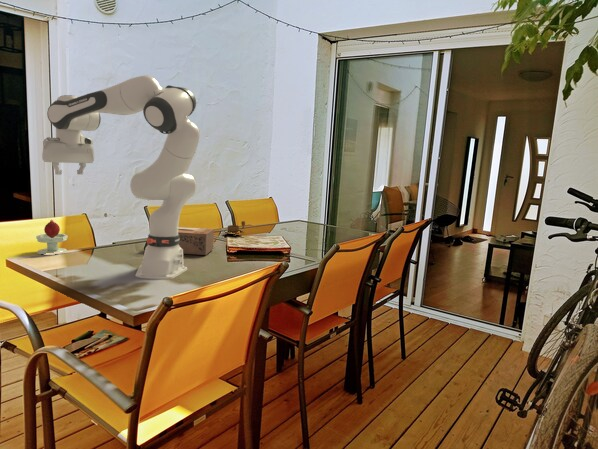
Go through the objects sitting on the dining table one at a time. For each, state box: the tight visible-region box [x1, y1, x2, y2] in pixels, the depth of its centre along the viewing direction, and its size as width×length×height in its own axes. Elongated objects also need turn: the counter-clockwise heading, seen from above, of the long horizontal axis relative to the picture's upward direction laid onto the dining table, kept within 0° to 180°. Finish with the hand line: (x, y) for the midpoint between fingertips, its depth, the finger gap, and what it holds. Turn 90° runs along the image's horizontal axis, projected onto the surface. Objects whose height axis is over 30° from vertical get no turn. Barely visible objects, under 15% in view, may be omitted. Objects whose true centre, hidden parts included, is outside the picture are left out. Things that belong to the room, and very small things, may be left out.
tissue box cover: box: [178, 226, 215, 256], centre depth 208 cm, size 26×14×10 cm, turn 88°
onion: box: [43, 219, 61, 238], centre depth 186 cm, size 6×6×8 cm
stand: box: [35, 233, 69, 255], centre depth 187 cm, size 11×11×8 cm
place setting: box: [223, 220, 246, 234], centre depth 265 cm, size 18×20×6 cm
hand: (69, 174), depth 170 cm, fingers open, 8 cm apart
